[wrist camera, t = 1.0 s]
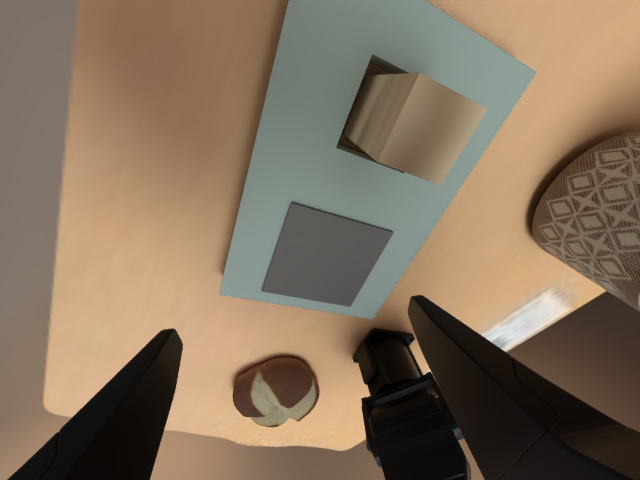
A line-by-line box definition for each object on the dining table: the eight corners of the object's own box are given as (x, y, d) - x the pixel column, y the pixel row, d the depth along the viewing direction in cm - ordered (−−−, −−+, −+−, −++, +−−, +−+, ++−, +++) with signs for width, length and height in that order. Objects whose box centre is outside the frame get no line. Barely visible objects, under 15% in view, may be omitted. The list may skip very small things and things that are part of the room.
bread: (301, 345, 33) (305, 384, 28) (324, 388, 39) (330, 425, 35) (219, 369, 33) (211, 412, 29) (255, 408, 39) (252, 447, 35)
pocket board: (508, 72, 19) (540, 71, 16) (366, 302, 30) (373, 321, 27) (302, -52, 14) (307, -79, 12) (223, 276, 25) (218, 296, 23)
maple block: (413, 98, 19) (487, 108, 12) (387, 151, 21) (439, 185, 14) (365, 75, 18) (419, 72, 11) (343, 133, 19) (377, 161, 13)
